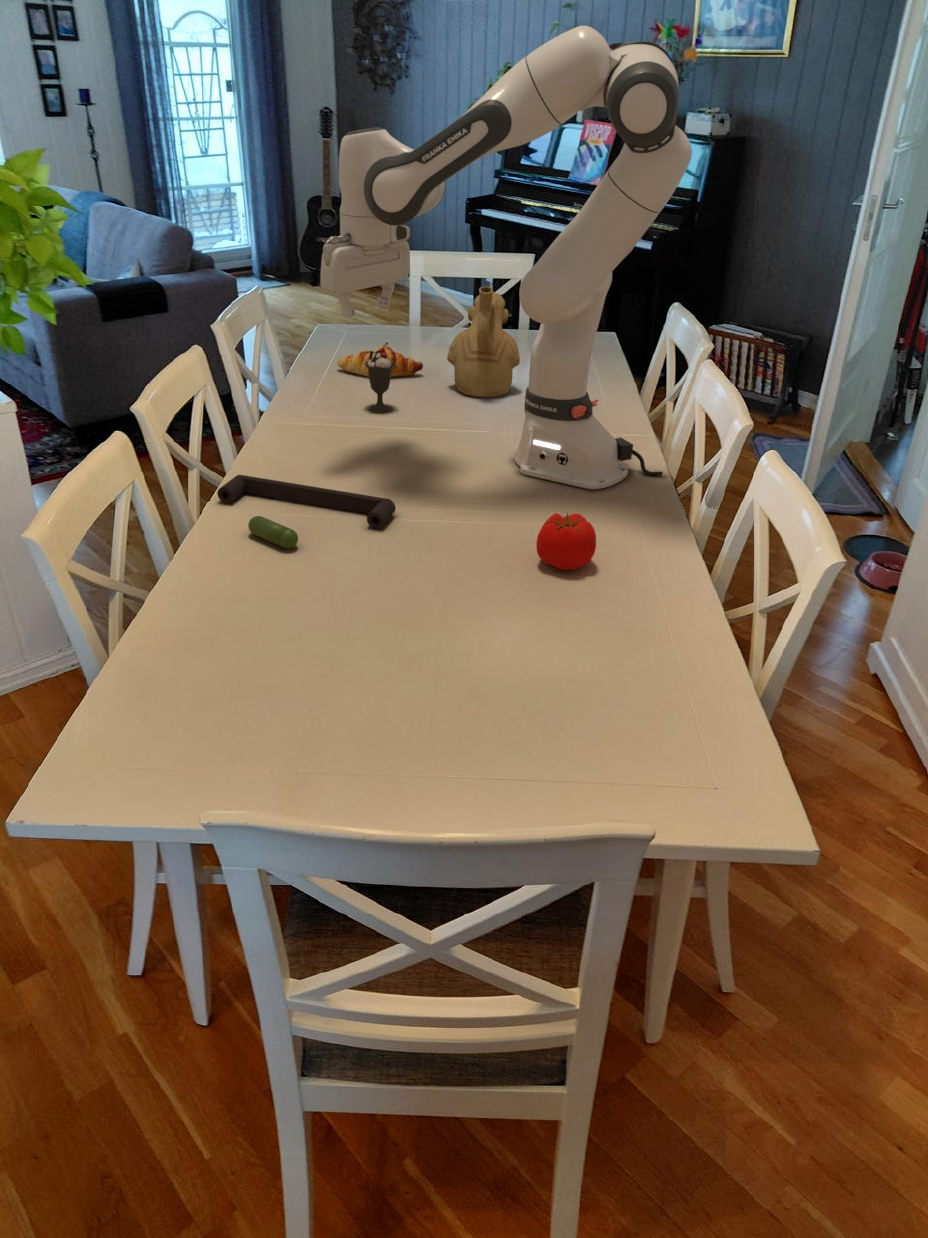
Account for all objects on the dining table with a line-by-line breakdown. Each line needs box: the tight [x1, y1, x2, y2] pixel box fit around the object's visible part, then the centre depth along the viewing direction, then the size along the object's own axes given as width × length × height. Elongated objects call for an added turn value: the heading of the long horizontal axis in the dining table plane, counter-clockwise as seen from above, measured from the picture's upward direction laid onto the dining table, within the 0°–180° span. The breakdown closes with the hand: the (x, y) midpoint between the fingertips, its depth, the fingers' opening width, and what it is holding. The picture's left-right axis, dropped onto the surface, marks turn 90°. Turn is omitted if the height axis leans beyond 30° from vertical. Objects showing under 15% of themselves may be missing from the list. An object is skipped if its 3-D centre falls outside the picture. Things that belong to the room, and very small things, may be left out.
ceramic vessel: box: [446, 286, 521, 398], centre depth 215 cm, size 17×20×25 cm
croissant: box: [337, 345, 424, 378], centre depth 228 cm, size 21×10×8 cm, turn 87°
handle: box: [217, 474, 396, 530], centre depth 160 cm, size 30×6×3 cm, turn 74°
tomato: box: [536, 512, 597, 571], centre depth 145 cm, size 9×9×8 cm
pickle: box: [247, 515, 299, 550], centre depth 149 cm, size 10×3×3 cm, turn 53°
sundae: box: [364, 341, 396, 414], centre depth 203 cm, size 7×7×15 cm
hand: (366, 311), depth 171 cm, fingers open, 8 cm apart
